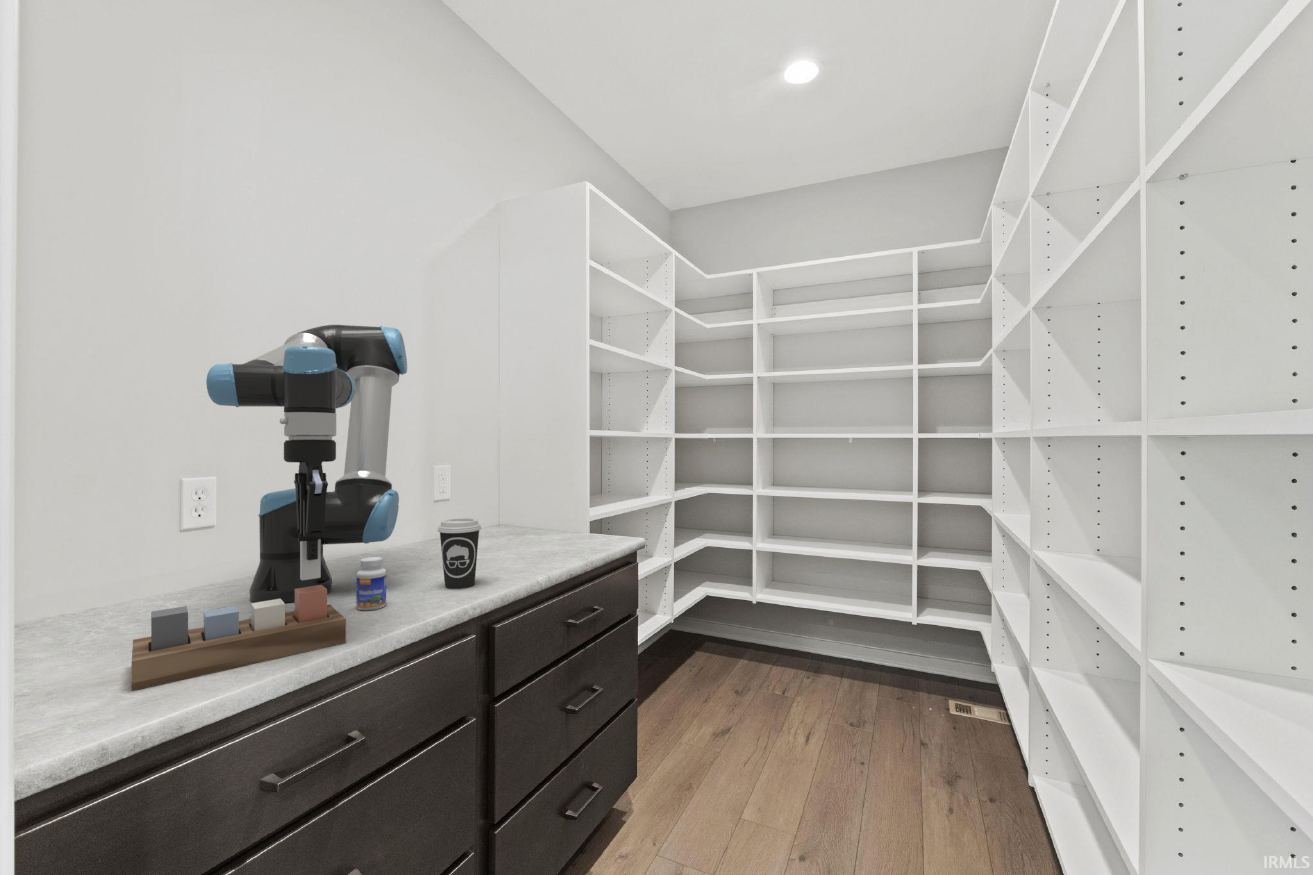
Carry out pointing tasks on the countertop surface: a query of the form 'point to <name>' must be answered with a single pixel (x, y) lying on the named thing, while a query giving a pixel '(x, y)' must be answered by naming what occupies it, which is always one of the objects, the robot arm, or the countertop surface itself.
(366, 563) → the pill bottle
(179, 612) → the key charcoal
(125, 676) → the countertop surface
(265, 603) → the key ivory
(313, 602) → the key brick
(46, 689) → the countertop surface
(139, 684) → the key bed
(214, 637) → the key blue
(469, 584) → the coffee cup
